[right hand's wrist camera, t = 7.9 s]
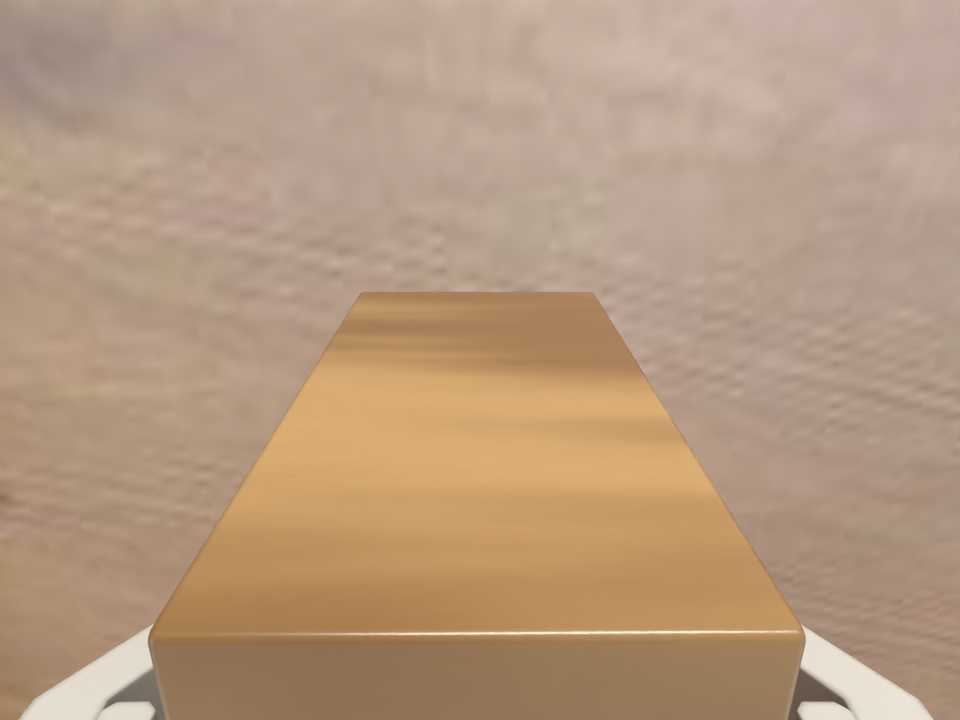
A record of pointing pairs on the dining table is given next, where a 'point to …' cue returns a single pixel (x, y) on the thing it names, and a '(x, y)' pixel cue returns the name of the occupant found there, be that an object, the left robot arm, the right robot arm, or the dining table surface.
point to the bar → (477, 539)
